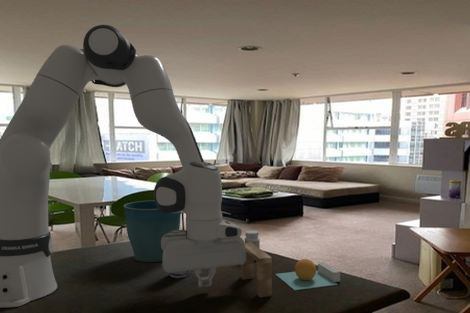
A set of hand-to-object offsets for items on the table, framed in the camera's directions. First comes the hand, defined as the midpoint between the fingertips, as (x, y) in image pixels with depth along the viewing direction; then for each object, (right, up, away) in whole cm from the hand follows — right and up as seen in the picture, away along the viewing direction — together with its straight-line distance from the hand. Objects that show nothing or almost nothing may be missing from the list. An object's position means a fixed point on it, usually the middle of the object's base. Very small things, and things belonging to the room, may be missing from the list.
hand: (205, 285), depth 95 cm
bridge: (+12, -1, +4) cm, 13 cm away
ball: (+26, +2, +8) cm, 27 cm away
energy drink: (-8, -1, +12) cm, 15 cm away
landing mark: (+26, -1, +8) cm, 27 cm away
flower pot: (-18, -1, +29) cm, 34 cm away
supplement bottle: (+13, -1, +27) cm, 30 cm away
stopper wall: (+32, -1, +10) cm, 34 cm away
